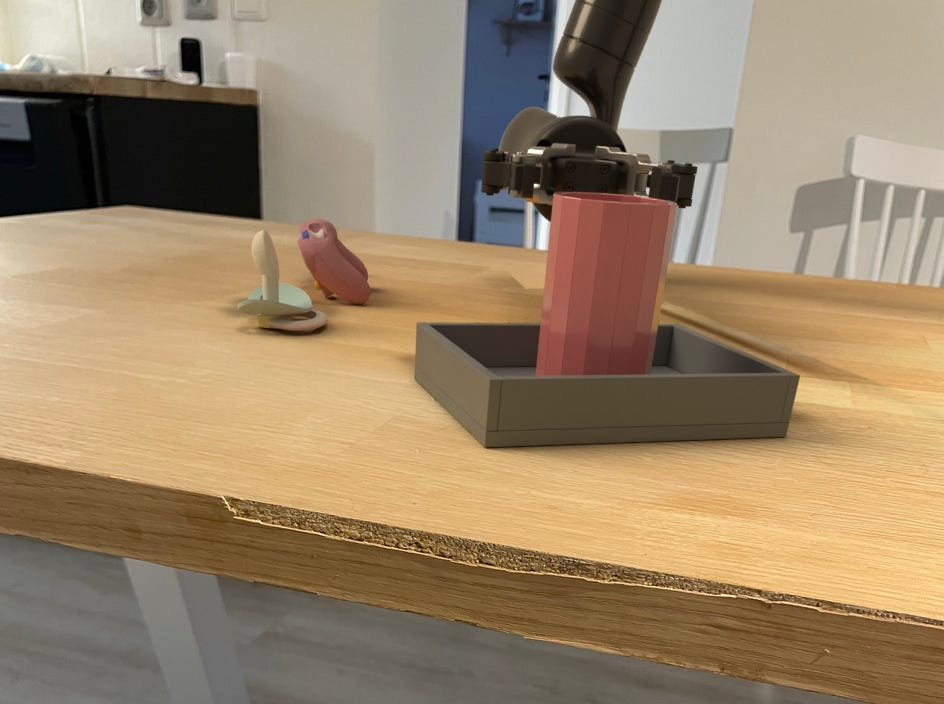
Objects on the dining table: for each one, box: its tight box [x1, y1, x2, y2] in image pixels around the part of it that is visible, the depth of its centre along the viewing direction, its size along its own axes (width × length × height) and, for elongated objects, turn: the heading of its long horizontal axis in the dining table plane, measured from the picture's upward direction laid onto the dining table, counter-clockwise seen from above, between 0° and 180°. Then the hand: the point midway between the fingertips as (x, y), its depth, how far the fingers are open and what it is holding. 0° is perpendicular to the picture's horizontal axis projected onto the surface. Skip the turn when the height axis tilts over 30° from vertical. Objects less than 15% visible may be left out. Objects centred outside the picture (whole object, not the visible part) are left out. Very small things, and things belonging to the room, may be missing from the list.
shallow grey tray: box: [413, 321, 801, 448], centre depth 53 cm, size 17×13×3 cm
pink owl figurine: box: [296, 218, 372, 305], centre depth 79 cm, size 10×5×7 cm, turn 6°
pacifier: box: [236, 229, 329, 332], centre depth 66 cm, size 7×6×6 cm
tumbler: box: [535, 192, 678, 376], centre depth 51 cm, size 6×6×10 cm
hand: (597, 184), depth 59 cm, fingers open, 8 cm apart
